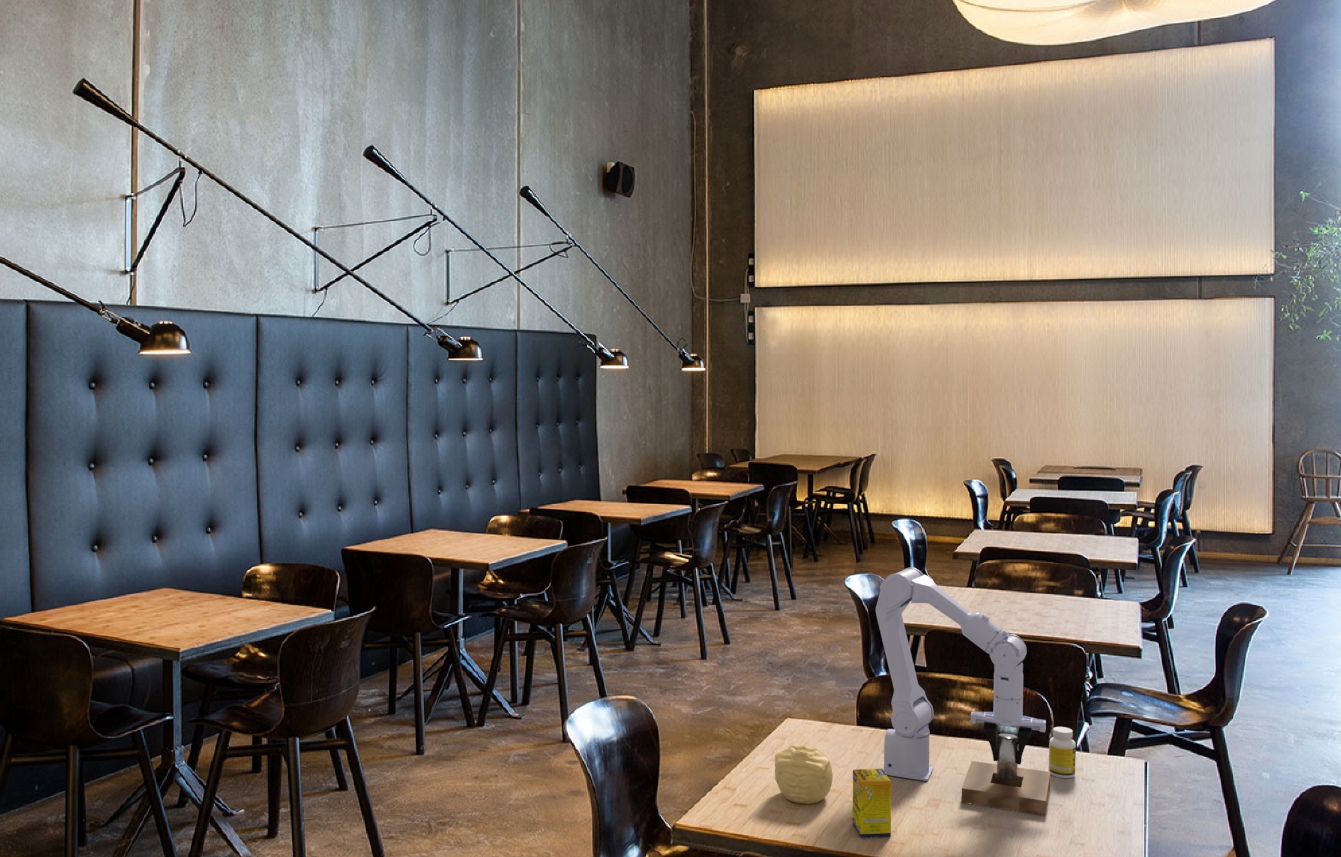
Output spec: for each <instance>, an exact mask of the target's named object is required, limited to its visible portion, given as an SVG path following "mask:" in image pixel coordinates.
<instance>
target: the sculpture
mask: <svg viewBox="0 0 1341 857" xmlns="http://www.w3.org/2000/svg"><path fill="white" fill-rule="evenodd" d="M774 768H775V769H774V777H775V782H776V784H777V786H778V788H779V791H780V793H781V794H782V796H783V797H784V798H785V799H787V800H788V801H791V802H793V803H797V804H803V805H811V804H817V803H819V802H821V801H822V800H824V799H825V798H826V797H827V795H828V794H829V792H830V790H831V788H832V785H833V784H832V783H833V776H834V775H833V768H832V764H831V761H830V759H829V758H828V757H827V755H826V754H825V753H824V752H822V751H821V750H820V749H818V748H817V747H814V746H810V745H794V744H792V745H790V746H789V747H788V748H786V749H784V750H781V751H779V752H777V753H776V754H775V756H774Z"/></svg>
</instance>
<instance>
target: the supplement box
mask: <svg viewBox="0 0 1341 857" xmlns="http://www.w3.org/2000/svg"><path fill="white" fill-rule="evenodd" d="M852 825H853V827H854V828H855V829H856V832H857V834H858V836H859V837H860V838H861V839H868V838H869V839H871V837H872V838H873V837H877V838H891V837H892V780H891V779H890V777H888V775H886V774H885V772H884V768H856V769H852ZM873 839H874V838H873Z"/></svg>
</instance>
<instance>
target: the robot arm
mask: <svg viewBox="0 0 1341 857" xmlns="http://www.w3.org/2000/svg"><path fill="white" fill-rule="evenodd" d="M879 590H880V591H879V596H878V599H877V602H876V606H875V614H876V620H877V625H878V627H879V632H880V636H881V641H882V644H883V648H884V653H885V658H886V662H887V665H888V670H889V673H890V678H891V682H892V686H893V695H892V698H891V709H892V713H891V716H890V717H891V719H890V720H891V721H890V722H891V724H892V727H893V728H887V730H885V731H886V732H885V735H884V742H883V743H884V745H883V746H884V748H883V749H884V750H883V751H884V752H883V770H884V772H885V774H886V775H887V776H890V777H891V776H892V777H898V778H905V779H911V780H918V781H924V782H927V781H929V779H930V776H931V775H932V772H933V770H934V766H932V765H930V729H929V724H930V723H931V721H932V720H933V718H934V714H935V713H934V708H933V707H934V706H933V705H932V703H931V702H930V701H929V700H928V698H927V695H926V691H925V690H924V689H923V688H922V687H921V685H919V681H918V677H917V674H916V670H915V664H914V661H913V657H912V652H911V648H910V644H909V640H908V636H907V631H906V626H905V623H904V619H903V612H904V611H905V610H906V609H907V607H908V606H909V604H910V602H911V604H929V605H930V606H932V607H933V608H934V609H935V610H937V611H939V612H940V613H942V614H943V615H945V616H946V617H948V618H949V619H951V620H952V621H954V622H955V623H956V624H958V625H959V626H960V629H961V633H962V635H963V636H964V637H966V638H967V639H968V640H969V641H971V642H972V643H973V644H975V645H976V646H977V647H978V648H980V649H981V650H983V651H984V652H985V653H987V654H989V658H990V659H991V662H992V663H993V666H994V667H993V668H994V672H993V711H971V713H970V723H971V724H975V725H976V724H983V728H982V730H983V732H984V734H985V737H986V738H987V741H988V744H989V745H990V749H991V754H992V760H993V762H997V736H998V735H999V734H998V732H999V727H1008V728H1016V729H1017V730H1018V731H1017V737H1018V755H1017V764H1018V765H1022V759H1023V758H1022V757H1023V753H1024V752H1025V751H1024V750H1025V748H1026V746H1027V745H1028V741H1029V740H1030V738H1031V735H1032V732H1033V731H1039V732H1040V733H1045V732H1046V731H1047V730H1046V728H1047V727H1046V724H1047V721H1046V719H1041V718H1039V719H1038V718H1035V717H1031V716H1026V715H1023V714H1024V712H1023V711H1024V710H1023V708H1024V706H1023V705H1024V672H1023V671H1024V663H1023V661H1024V660H1025V658H1026V657H1027V656H1026V655H1027V652H1028V650H1027V646H1026V643H1025V642H1024V640H1022V638H1021V637H1020V636H1019V635H1017V634H1010V632H1009V631H1008V630H1006V629H1004V630H1003V629H1002V628H1000V627H999V626H998V625H996V624H995V623H994V622H992V621H991V620H990V618H991V617H990V616H989V615H988V614H986V613H984V614H982V613H981V612H970V611H968V610H967V609H966V608H965V607H964V606H962V604H961V603H959V602H958V601H957V600H956V599H954V598H953V597H952V596H951V595H949V593H947V592H946V591H945V590H943V589H942V588H941V586H939V585H937V583H935V582H934V580H933V578H931V577H930V576H928V575H927V574H924V573H923V572H922V571H921V570H919V569H917V568H916V567H907V568H904V569H903V570H901V571H898V572H896V573H892V574H889V575H888V576H887V577H886V578H885V579H884V580H883V581H882V583H880V585H879Z"/></svg>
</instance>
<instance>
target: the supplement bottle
mask: <svg viewBox="0 0 1341 857" xmlns="http://www.w3.org/2000/svg"><path fill="white" fill-rule="evenodd" d="M1073 731H1074V730H1073V729H1071V728H1070V727H1065V726H1056V727H1055V726H1054V727H1053V728H1052V735H1053V736H1052V737H1051V738H1050V739H1049V741H1048V742H1049V744H1048V772H1050V776H1051V775H1052V777H1053V776H1054V777H1055V776H1056V778H1059V779H1071V778H1074V777H1075V775H1076V757H1077V756H1076V752H1077V750H1076V749H1077V745H1076V741H1075V740H1074V739H1073Z"/></svg>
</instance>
